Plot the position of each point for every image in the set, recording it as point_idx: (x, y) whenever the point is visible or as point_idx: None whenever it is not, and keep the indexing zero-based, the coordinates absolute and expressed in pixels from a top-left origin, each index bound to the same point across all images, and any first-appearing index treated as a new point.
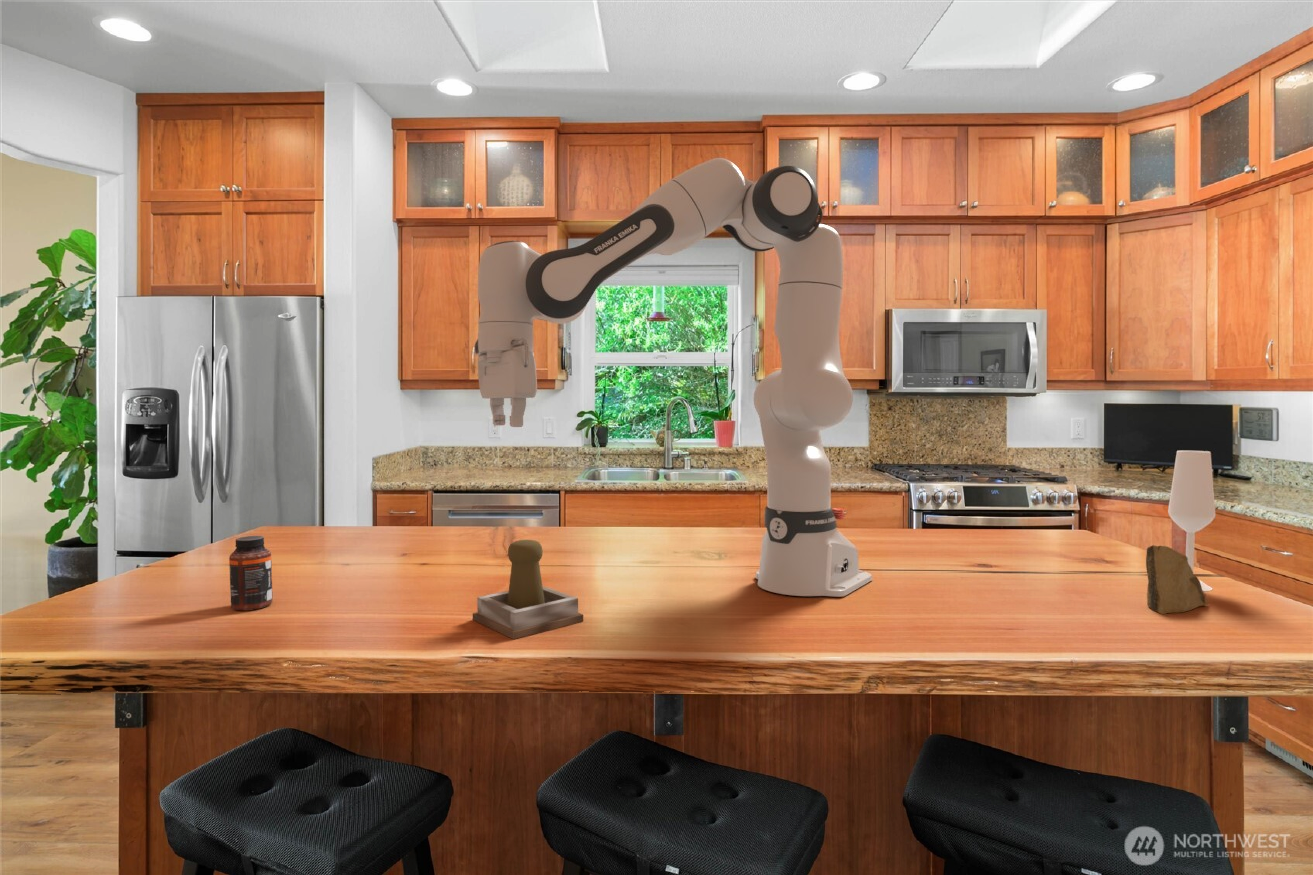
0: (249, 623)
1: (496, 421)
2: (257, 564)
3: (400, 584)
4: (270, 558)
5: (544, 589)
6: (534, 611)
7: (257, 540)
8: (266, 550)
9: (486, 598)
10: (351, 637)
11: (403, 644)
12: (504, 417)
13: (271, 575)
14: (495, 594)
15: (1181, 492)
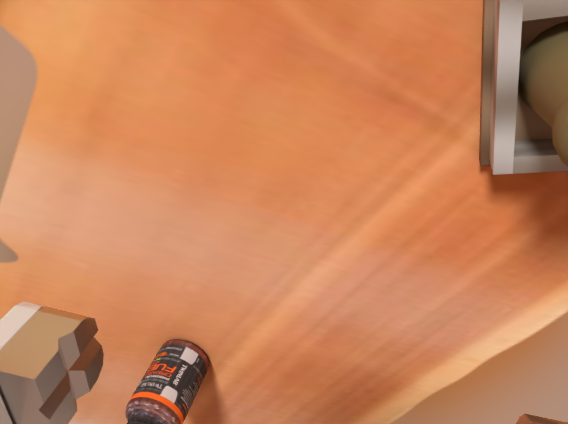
0: (269, 375)
1: (85, 386)
2: (182, 410)
3: (142, 173)
4: (159, 397)
5: (562, 11)
6: None
7: None
8: (153, 412)
9: (519, 164)
10: (424, 321)
11: (519, 287)
12: (52, 367)
13: (169, 373)
14: (503, 135)
15: None
